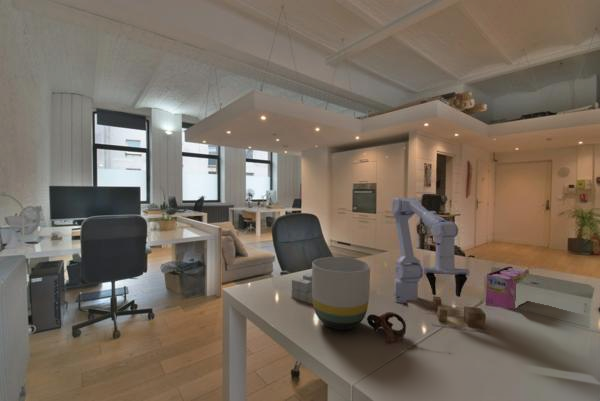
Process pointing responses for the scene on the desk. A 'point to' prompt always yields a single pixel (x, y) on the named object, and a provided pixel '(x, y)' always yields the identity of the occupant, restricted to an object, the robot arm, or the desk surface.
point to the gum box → (503, 287)
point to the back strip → (449, 310)
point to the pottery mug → (387, 325)
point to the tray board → (456, 317)
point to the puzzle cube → (303, 288)
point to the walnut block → (474, 317)
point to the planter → (340, 291)
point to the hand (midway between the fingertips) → (445, 295)
